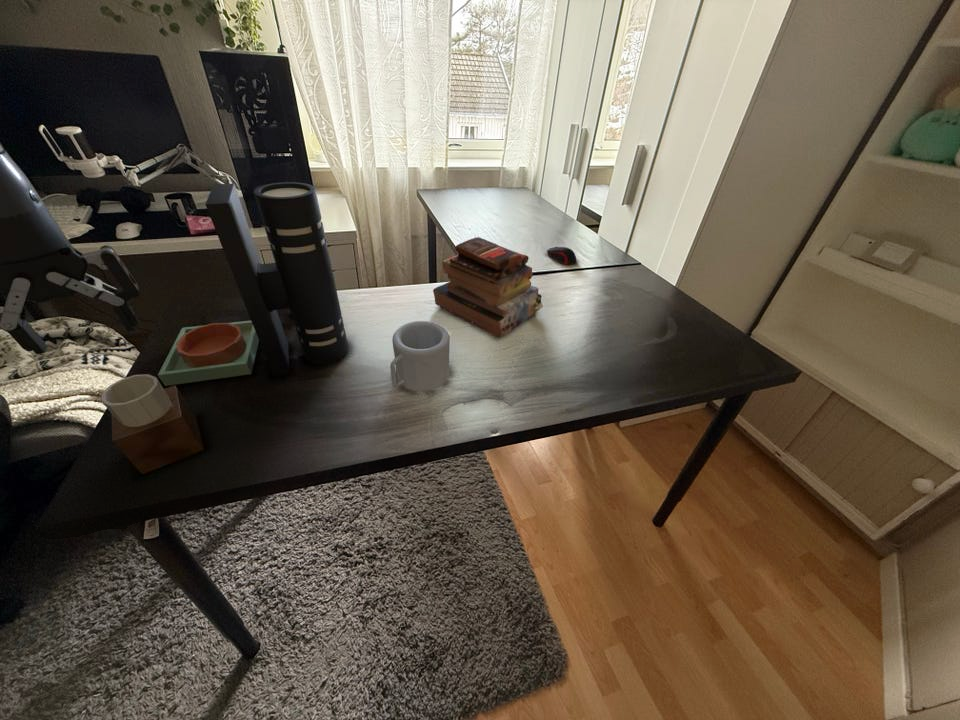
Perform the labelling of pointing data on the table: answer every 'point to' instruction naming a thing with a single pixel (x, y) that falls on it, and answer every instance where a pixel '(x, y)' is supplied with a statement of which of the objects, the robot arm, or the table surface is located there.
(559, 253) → the computer mouse
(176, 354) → the tray
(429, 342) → the mug
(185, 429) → the block
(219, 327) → the big bowl
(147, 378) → the small bowl
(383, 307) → the table surface
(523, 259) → the stack of old books
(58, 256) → the robot arm
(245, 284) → the light fixture
